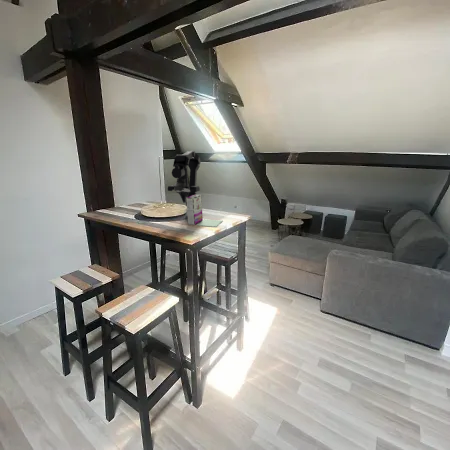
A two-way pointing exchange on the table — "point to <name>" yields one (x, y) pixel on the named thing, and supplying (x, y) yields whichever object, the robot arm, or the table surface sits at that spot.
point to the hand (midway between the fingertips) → (184, 202)
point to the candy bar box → (194, 209)
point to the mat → (209, 223)
